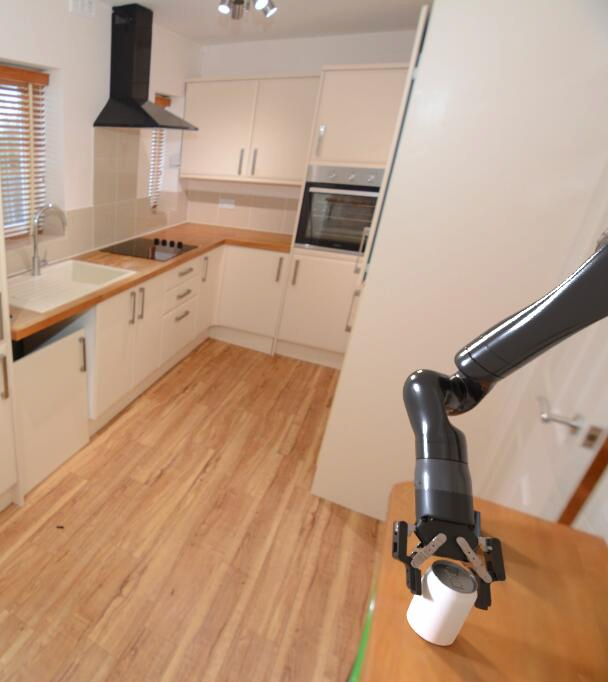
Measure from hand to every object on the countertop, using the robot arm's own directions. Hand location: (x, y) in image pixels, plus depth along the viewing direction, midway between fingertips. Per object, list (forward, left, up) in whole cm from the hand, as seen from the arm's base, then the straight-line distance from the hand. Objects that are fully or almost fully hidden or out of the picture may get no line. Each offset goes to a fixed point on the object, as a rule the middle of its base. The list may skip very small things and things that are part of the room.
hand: (448, 601), depth 69 cm
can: (0, -1, -8) cm, 8 cm away
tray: (-1, -28, -8) cm, 29 cm away
